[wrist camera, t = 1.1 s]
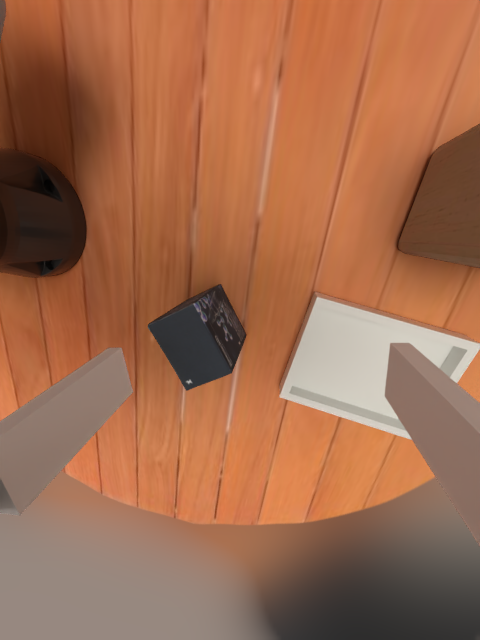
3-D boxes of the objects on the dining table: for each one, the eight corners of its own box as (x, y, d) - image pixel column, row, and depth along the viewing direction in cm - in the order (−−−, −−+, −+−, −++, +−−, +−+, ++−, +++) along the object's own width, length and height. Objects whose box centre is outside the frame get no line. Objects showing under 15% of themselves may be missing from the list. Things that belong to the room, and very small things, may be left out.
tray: (279, 385, 36) (279, 396, 33) (314, 291, 31) (317, 296, 28) (407, 426, 34) (417, 441, 32) (464, 334, 29) (482, 344, 27)
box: (248, 334, 34) (233, 375, 24) (212, 349, 36) (184, 392, 26) (221, 282, 32) (193, 302, 23) (185, 299, 34) (144, 326, 24)
